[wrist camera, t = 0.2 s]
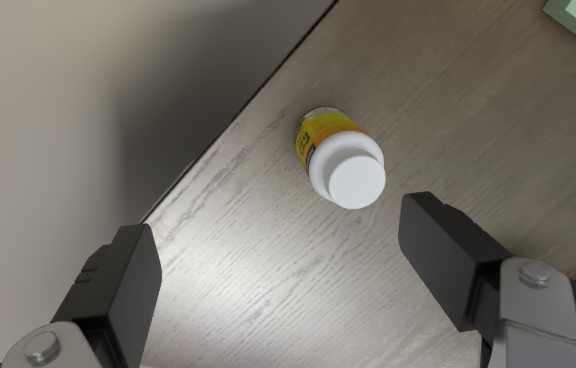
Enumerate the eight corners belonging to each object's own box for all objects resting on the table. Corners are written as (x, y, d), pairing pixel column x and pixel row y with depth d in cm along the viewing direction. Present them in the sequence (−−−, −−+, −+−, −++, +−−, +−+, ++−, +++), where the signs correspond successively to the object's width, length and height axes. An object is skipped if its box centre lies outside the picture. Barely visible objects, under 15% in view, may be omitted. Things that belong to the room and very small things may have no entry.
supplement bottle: (288, 111, 30) (312, 152, 21) (349, 100, 31) (398, 136, 22) (296, 168, 33) (321, 226, 24) (353, 157, 33) (398, 211, 24)
